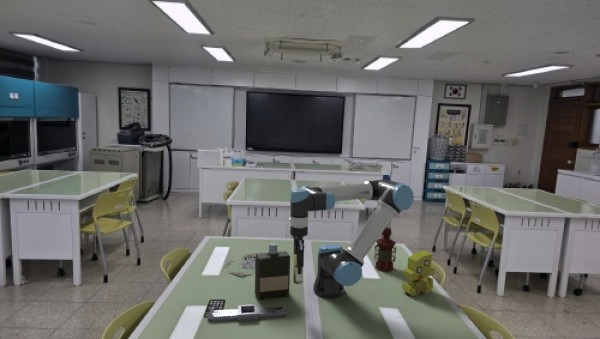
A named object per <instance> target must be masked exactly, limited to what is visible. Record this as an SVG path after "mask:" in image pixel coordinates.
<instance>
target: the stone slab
mask: <svg viewBox="0 0 600 339" xmlns="http://www.w3.org/2000/svg"><path fill="white" fill-rule="evenodd" d="M246 254H247V255H245V254H244V255H243V256H244V257H243V256H242V257H243V258H247V259H246V260H245V259H243V258H242V257H241V258H240V259H238V260H233V258H232V259H231V260H229V261H228V262H227V263H226V265H225V266H224V267H223V268H228V266H230V265H232V263H237V262H238V261H241V262H239V263H237V267H238V266H239V268H238V269H240V270H251V271H252V270H253V271H252V272H253V273H245V272H242V271H239V272H238V271H236V272H231V274H232V275H235V276H237V277H238V276H239V277H246V276H250V275H252V274H255V258H253V257H255V255H256V253H246ZM250 257H252V258H253V259H251V258H250ZM248 258H249V259H248ZM243 260H244V262H243ZM247 263H248V264H247ZM250 263H251V264H250ZM253 265H254V266H253ZM251 268H252V269H251ZM228 274H230V271H229V272H228Z"/></svg>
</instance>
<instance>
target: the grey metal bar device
mask: <svg viewBox="0 0 600 339" xmlns="http://www.w3.org/2000/svg"><path fill="white" fill-rule="evenodd" d="M286 316H287V308H286V307H284V306H268V307H258V305H257V303H253V304H252V303H251V304H250V303H249V304H238V305H237V308H236V309H235V308H233V309H223V310H213V311H210V312H209V313H208V318H207V320H208V321H210V322H220V321H221V322H222V321H223V322H224V321H238V322H239V323H240V322H253V321H255V322H256V321H258V320H259V319H271V318H272V319H273V318H283V317H286Z"/></svg>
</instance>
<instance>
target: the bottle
mask: <svg viewBox="0 0 600 339" xmlns="http://www.w3.org/2000/svg"><path fill="white" fill-rule="evenodd" d="M255 254H256V256H255V269H254V271H255V273H254V295H255V297H256V298H257V300H264V299H265V300H266V299H274V298H282V297H289V295H290V289H291V288H290V285H291V284H290V282H291V280H290V279H291V278H290V277H291V256H290V254H289V253H288V251H287V250H285V251H283V250H282V251H278V243H276V242H270V243H268V252H256V253H255Z"/></svg>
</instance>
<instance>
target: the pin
mask: <svg viewBox="0 0 600 339" xmlns="http://www.w3.org/2000/svg"><path fill="white" fill-rule="evenodd" d="M293 256H294V257H293V273H292V274H293V279H292V280H293V284H294V285H295V284H296V285H299V284H302V283H303V281H304V280H303V279H304V278H303V277H304V276H303V275H304V274H303V272H304V271H303V272H302V281H296V267H295V265H297V254H294V253H293Z"/></svg>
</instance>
